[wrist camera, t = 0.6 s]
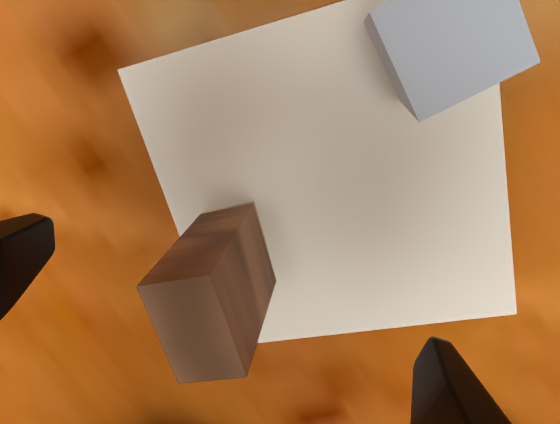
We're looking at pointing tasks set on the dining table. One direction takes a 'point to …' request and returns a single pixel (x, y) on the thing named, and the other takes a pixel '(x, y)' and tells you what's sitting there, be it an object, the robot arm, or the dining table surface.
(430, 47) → the blue-grey block
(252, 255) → the walnut block
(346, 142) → the mat
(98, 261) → the dining table surface
